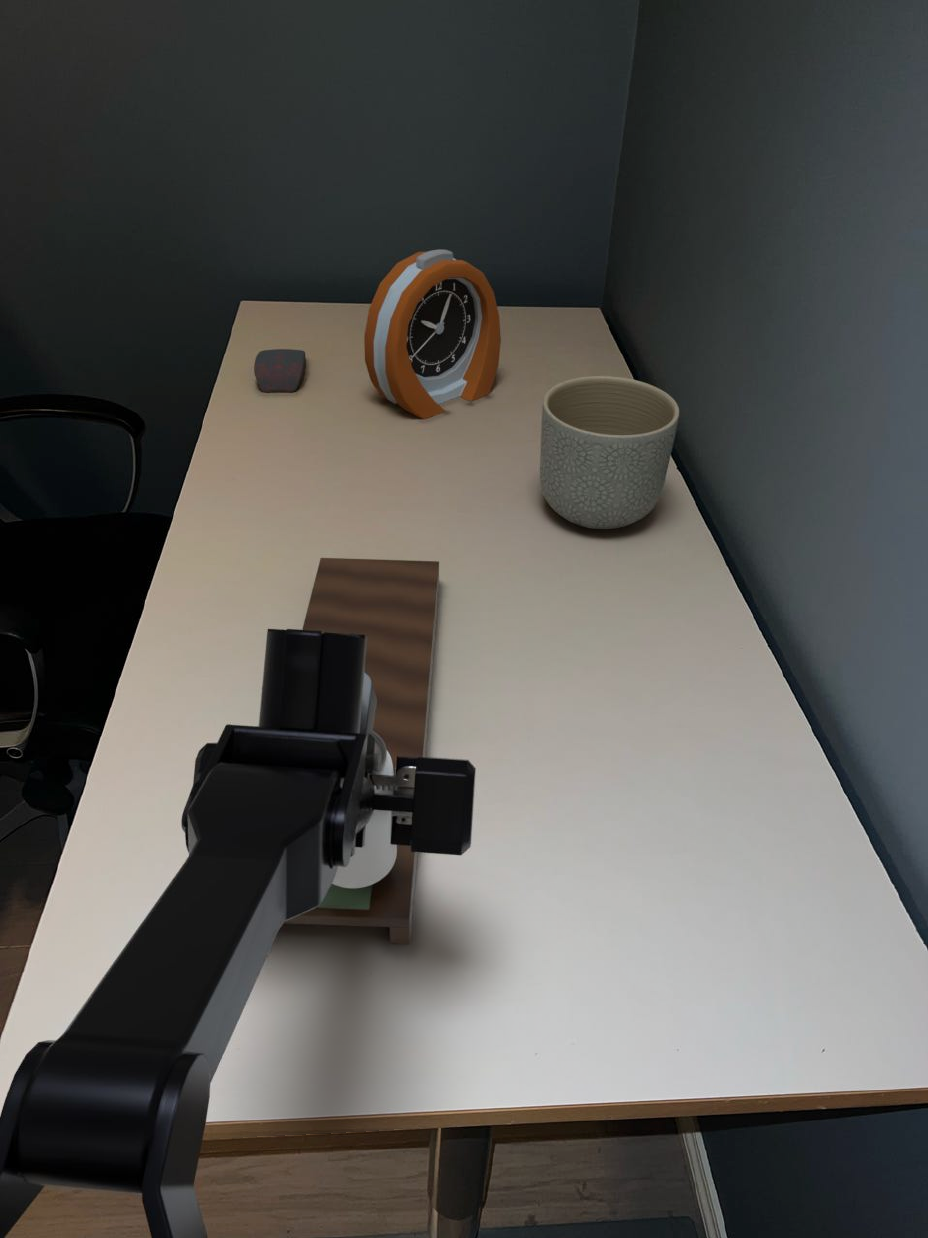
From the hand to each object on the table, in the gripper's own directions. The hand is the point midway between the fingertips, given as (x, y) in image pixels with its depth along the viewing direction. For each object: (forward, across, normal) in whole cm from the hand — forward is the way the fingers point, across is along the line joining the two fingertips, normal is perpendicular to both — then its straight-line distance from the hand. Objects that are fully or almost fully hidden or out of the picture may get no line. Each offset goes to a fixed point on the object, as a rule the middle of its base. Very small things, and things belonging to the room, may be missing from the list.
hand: (354, 789), depth 70 cm
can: (+4, 0, +6) cm, 7 cm away
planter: (+52, -22, -35) cm, 66 cm away
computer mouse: (+78, +29, -62) cm, 103 cm away
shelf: (+22, +3, -4) cm, 22 cm away
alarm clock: (+74, +2, -58) cm, 94 cm away
